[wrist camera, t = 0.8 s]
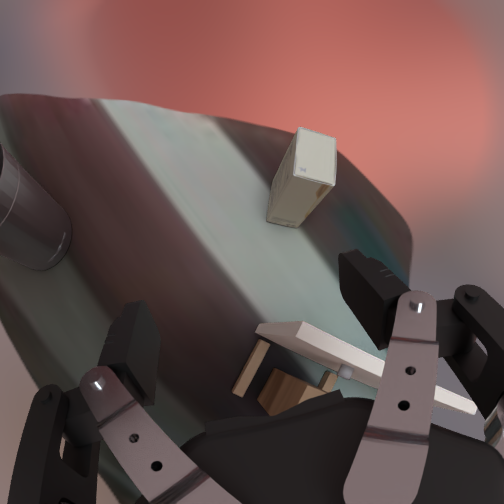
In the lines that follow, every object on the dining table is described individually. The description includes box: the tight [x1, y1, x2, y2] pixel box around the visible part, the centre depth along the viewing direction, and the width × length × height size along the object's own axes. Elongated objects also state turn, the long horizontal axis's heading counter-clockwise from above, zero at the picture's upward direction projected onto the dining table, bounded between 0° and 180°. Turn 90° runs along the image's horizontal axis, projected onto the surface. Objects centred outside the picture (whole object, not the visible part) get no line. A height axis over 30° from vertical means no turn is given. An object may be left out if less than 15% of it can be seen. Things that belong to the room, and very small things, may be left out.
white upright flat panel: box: [232, 321, 477, 415], centre depth 27 cm, size 22×9×16 cm, turn 63°
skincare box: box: [267, 127, 336, 228], centre depth 34 cm, size 6×4×12 cm
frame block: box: [257, 368, 328, 416], centre depth 28 cm, size 4×5×12 cm
